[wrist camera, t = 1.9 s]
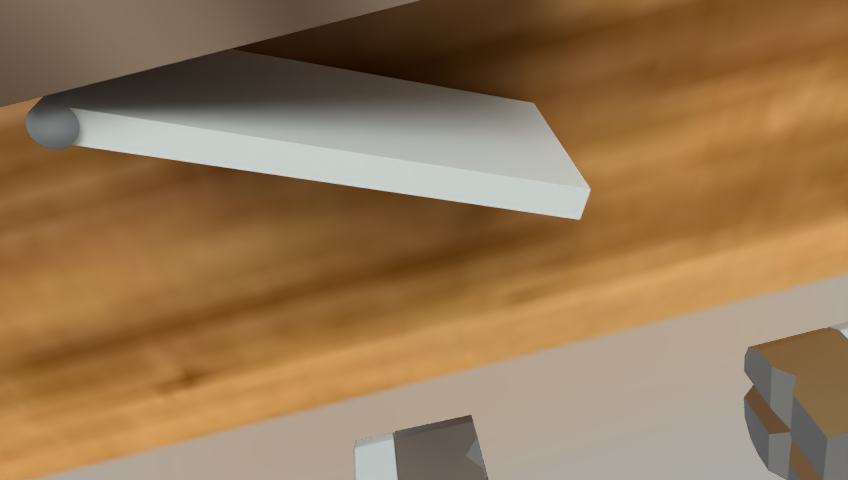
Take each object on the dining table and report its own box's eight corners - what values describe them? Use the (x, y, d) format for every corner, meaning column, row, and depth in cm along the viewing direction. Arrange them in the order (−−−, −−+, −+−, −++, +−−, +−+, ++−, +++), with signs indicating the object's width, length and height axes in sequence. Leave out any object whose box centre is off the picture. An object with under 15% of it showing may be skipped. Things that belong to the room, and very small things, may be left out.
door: (533, 98, 27) (594, 189, 21) (517, 150, 28) (571, 252, 22) (103, 21, 24) (24, 100, 18) (102, 82, 25) (27, 177, 19)
